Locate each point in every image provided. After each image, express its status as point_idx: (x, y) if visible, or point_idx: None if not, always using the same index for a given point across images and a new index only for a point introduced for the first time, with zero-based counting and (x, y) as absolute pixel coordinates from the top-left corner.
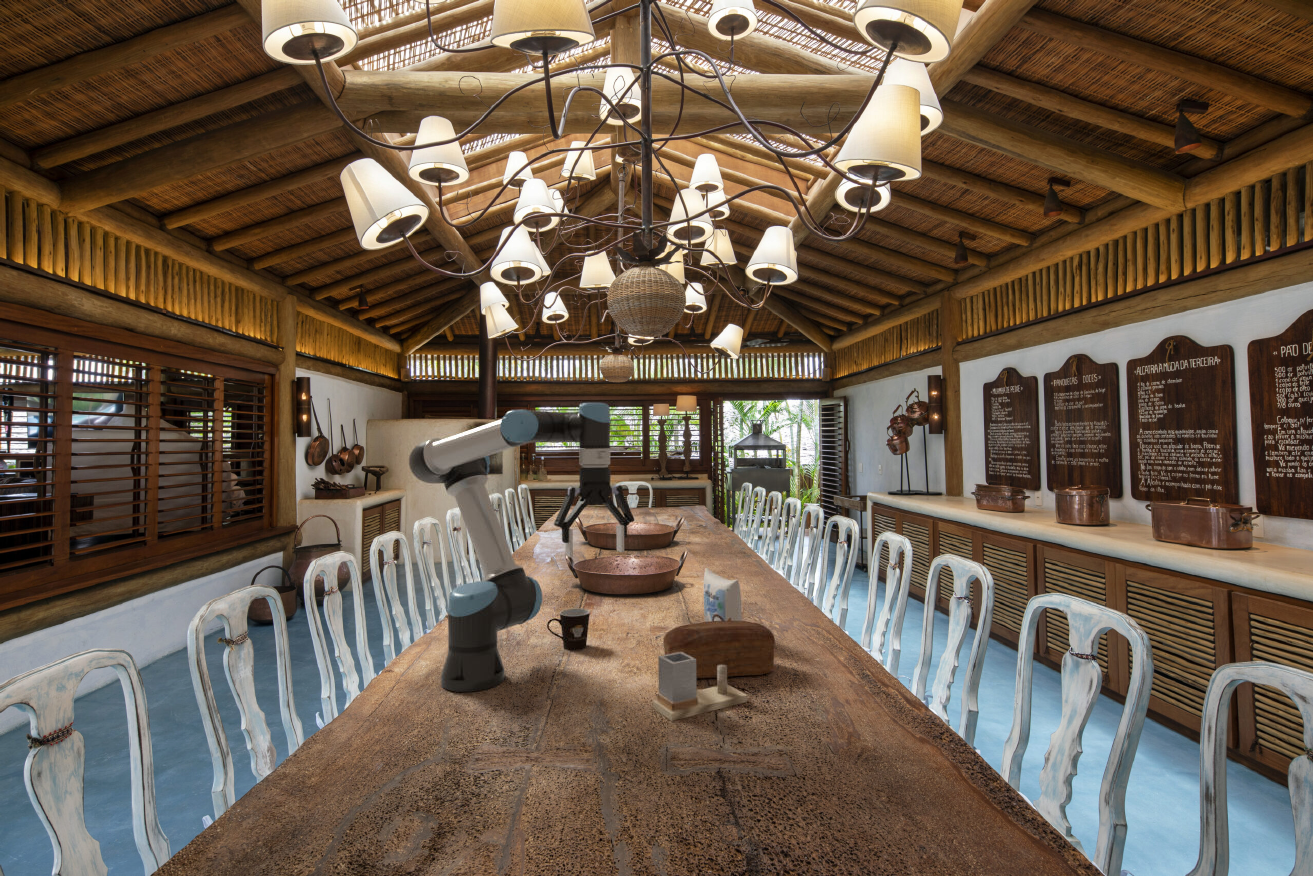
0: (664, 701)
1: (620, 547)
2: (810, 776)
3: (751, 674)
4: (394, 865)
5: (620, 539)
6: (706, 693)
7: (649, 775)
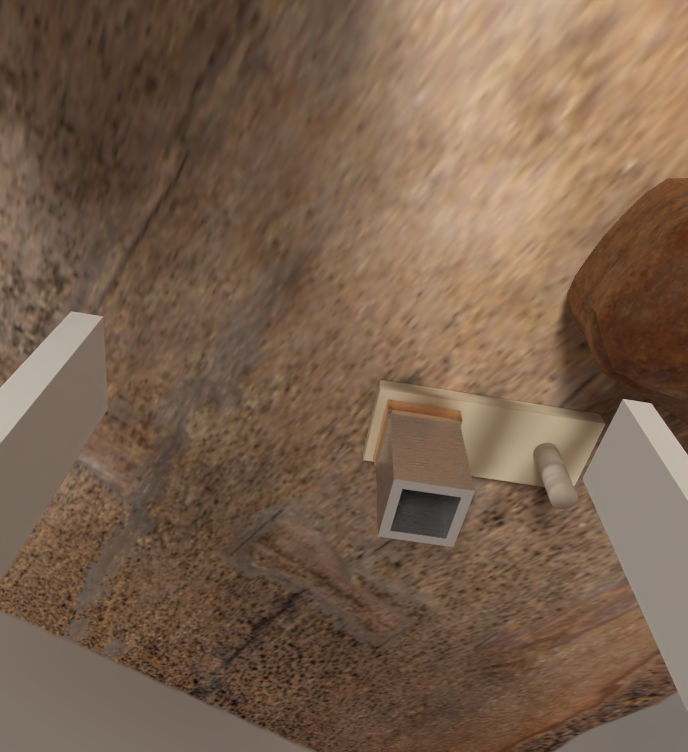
0: (380, 433)
1: (604, 492)
2: (389, 658)
3: None
4: None
5: (633, 554)
6: (515, 434)
7: (198, 550)
